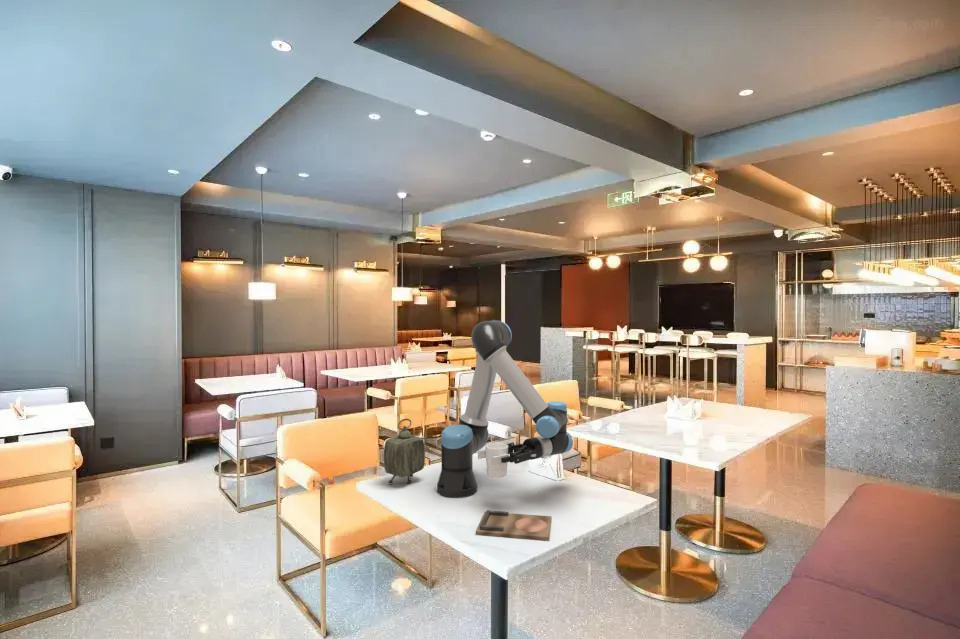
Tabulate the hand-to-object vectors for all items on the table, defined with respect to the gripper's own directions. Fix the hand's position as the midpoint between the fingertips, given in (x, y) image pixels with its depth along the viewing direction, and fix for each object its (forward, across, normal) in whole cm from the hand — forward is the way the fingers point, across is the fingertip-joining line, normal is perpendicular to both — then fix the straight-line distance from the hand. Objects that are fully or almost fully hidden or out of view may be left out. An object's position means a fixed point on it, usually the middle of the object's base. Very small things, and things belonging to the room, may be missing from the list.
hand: (485, 458), depth 169 cm
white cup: (-5, 0, -7) cm, 8 cm away
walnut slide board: (0, -16, -17) cm, 24 cm away
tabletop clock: (+11, +40, -18) cm, 45 cm away
